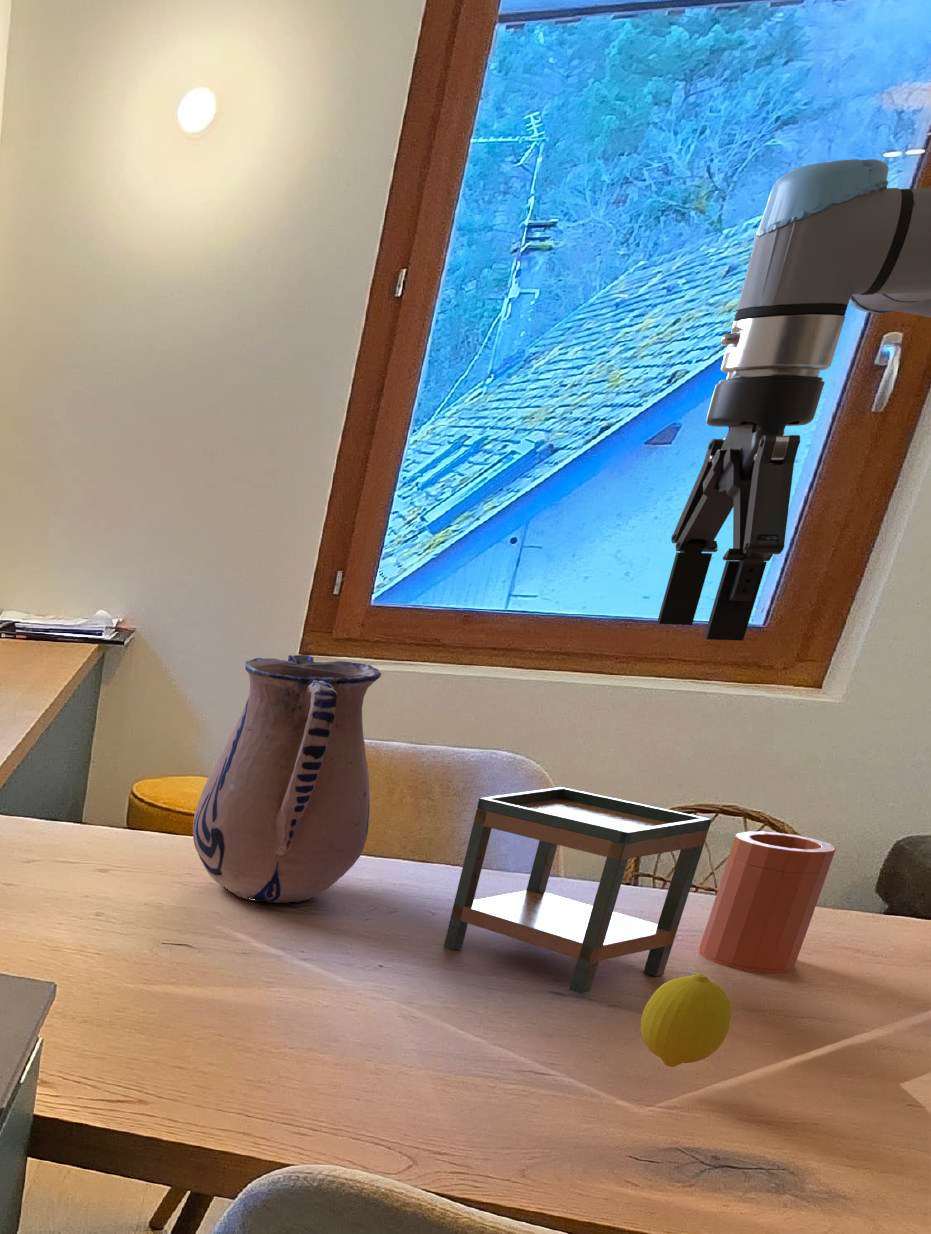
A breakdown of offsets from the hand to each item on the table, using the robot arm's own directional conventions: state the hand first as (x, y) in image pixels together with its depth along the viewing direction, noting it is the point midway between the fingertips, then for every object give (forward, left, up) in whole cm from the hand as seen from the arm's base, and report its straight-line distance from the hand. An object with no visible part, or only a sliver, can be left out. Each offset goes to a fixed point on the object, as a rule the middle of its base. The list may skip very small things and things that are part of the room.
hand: (697, 632), depth 121 cm
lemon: (-21, +26, -30) cm, 45 cm away
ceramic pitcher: (+25, +20, -30) cm, 44 cm away
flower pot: (-9, -6, -30) cm, 32 cm away
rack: (-1, +11, -30) cm, 32 cm away
